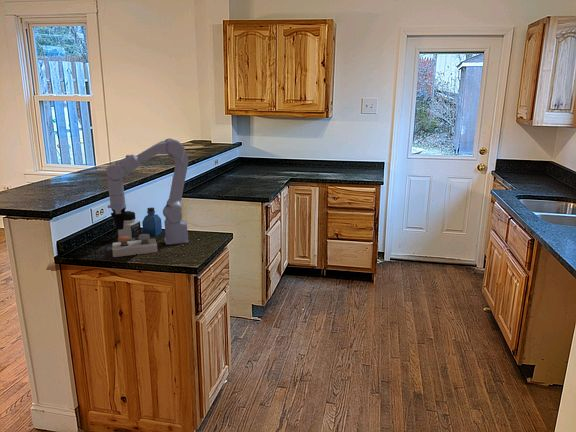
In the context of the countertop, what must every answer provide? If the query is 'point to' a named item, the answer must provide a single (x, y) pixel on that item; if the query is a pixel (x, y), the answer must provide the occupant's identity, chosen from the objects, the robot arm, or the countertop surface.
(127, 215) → the medicine bottle
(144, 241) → the grey button
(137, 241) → the panel
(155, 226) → the perfume bottle
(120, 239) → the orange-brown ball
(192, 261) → the countertop surface
